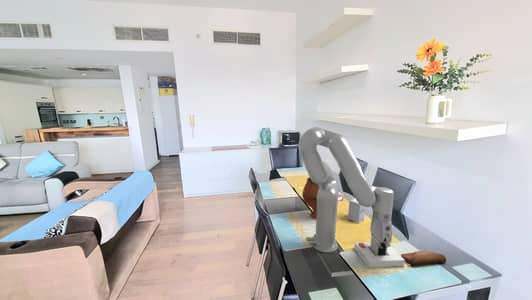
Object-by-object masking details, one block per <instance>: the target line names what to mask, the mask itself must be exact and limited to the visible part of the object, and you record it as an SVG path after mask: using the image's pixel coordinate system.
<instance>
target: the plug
mask: <svg viewBox="0 0 532 300" xmlns="http://www.w3.org/2000/svg"><path fill="white" fill-rule="evenodd" d="M370 242H371V246H370V251H371V252H372V253H373V254H374V255H375V256H379V255H378V249H379V247H380V241H379V240H378V239H377V238H376V237H375V236H374V235H371V238H370ZM382 245H384V243H382ZM385 256H387V248H386V253H385Z"/></svg>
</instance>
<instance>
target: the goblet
mask: <svg viewBox="0 0 532 300" xmlns="http://www.w3.org/2000/svg"><path fill="white" fill-rule="evenodd" d="M318 190H319V186H318V184H315V183H314V182H312V180H311V179H310V176H309V177H307V178H306V183H305V184H304V187H303V190H302V198H303V202H304V203H305V204H306V205H307V206H308V207H310V208H311V209H312V212H311V213H310V214H309V217H310V218H312V219H313V220H316V217H317V193H318Z"/></svg>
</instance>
